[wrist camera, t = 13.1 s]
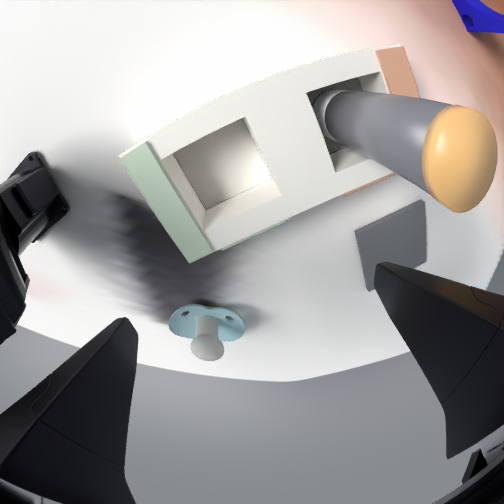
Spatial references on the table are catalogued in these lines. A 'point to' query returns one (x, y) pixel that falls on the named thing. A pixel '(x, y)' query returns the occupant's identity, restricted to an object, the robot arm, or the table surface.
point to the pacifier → (206, 329)
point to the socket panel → (265, 152)
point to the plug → (416, 141)
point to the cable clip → (479, 16)
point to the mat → (393, 240)
